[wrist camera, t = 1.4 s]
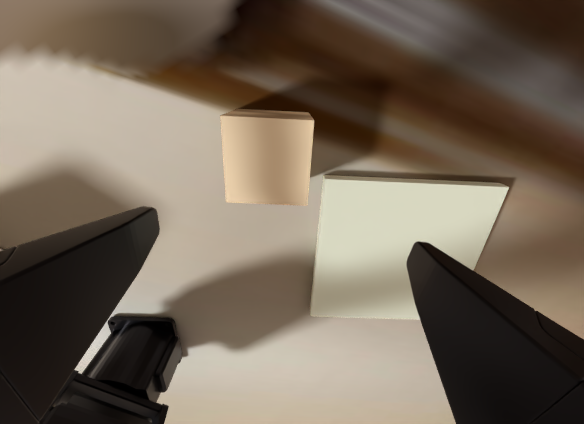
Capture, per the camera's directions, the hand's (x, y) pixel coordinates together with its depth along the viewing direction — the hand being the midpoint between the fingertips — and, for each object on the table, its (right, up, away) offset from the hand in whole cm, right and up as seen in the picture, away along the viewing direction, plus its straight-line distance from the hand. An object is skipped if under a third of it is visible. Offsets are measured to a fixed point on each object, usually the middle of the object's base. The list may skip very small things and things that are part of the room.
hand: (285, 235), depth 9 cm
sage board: (+9, -3, +14) cm, 17 cm away
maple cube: (-1, +6, +10) cm, 12 cm away
